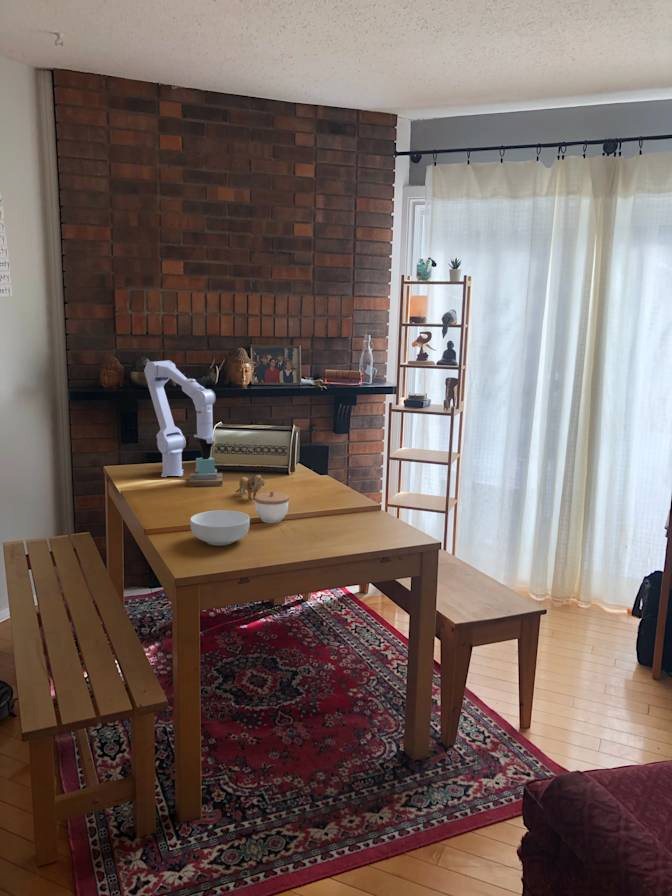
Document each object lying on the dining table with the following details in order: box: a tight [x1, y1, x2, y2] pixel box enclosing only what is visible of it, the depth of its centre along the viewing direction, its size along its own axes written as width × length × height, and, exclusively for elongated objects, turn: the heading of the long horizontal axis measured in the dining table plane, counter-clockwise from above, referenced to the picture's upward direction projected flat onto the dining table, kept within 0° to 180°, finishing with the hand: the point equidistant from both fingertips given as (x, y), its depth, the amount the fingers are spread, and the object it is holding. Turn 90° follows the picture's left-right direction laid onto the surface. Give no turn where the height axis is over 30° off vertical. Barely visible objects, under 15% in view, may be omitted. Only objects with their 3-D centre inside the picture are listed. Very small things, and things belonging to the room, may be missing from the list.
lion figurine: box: [235, 474, 266, 502], centre depth 256 cm, size 15×5×9 cm, turn 44°
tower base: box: [188, 468, 223, 487], centre depth 275 cm, size 12×12×4 cm
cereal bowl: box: [189, 509, 251, 547], centre depth 211 cm, size 17×17×7 cm
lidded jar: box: [254, 490, 290, 524], centre depth 231 cm, size 11×11×9 cm
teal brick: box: [195, 456, 216, 474], centre depth 274 cm, size 4×6×5 cm
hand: (205, 458), depth 274 cm, fingers closed, pressing on teal brick
